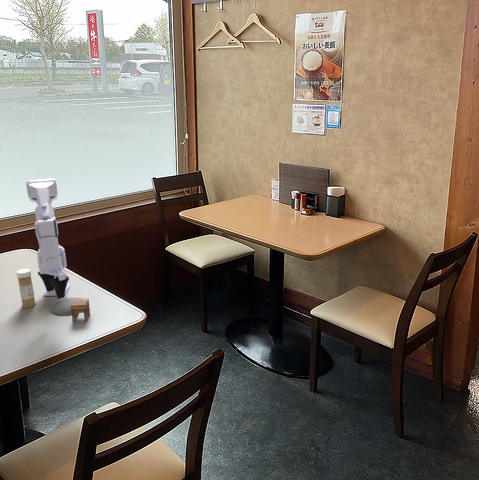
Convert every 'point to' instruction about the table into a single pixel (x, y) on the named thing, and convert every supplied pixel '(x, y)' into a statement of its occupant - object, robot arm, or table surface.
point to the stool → (80, 308)
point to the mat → (62, 306)
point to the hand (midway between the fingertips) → (55, 294)
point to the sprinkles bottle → (26, 287)
